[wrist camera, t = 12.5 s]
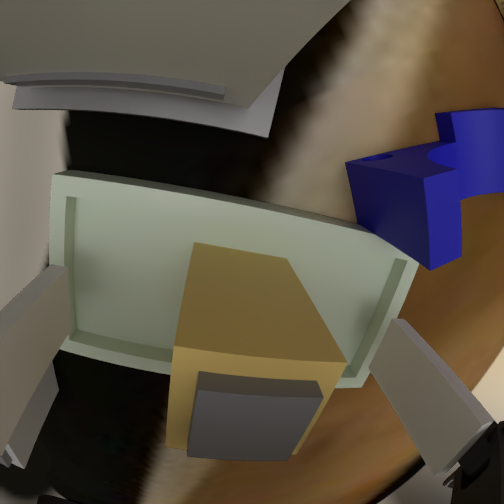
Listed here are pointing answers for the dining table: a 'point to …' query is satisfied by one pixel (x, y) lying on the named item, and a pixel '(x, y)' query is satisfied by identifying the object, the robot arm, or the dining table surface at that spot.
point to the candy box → (501, 6)
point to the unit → (157, 56)
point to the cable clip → (430, 185)
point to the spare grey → (31, 421)
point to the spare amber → (247, 359)
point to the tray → (178, 259)
